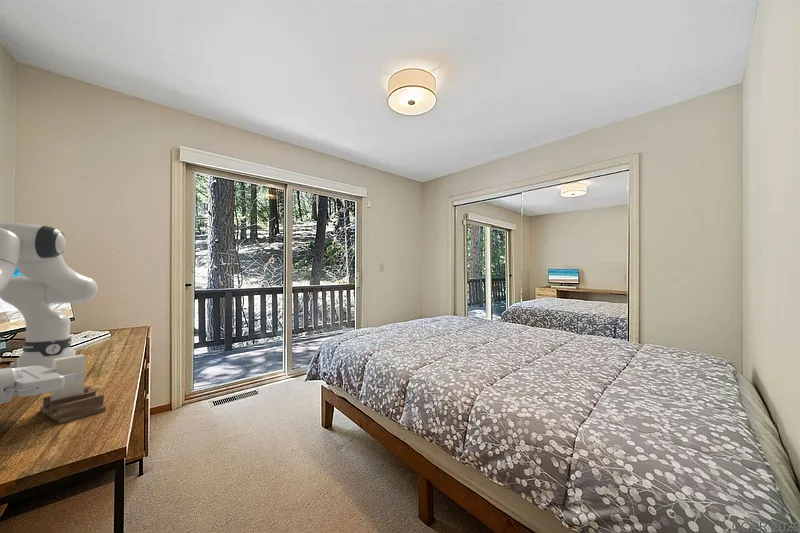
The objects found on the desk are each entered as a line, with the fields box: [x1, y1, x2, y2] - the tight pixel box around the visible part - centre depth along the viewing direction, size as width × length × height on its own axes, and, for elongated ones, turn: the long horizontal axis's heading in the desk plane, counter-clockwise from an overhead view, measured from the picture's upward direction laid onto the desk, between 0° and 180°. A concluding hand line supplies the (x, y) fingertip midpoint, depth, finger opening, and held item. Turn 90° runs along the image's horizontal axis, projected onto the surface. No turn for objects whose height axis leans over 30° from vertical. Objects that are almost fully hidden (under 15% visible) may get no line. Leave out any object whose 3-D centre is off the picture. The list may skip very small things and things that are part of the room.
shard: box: [84, 385, 101, 392], centre depth 97 cm, size 11×8×2 cm
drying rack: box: [39, 387, 107, 425], centre depth 86 cm, size 16×9×4 cm, turn 63°
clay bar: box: [49, 354, 87, 401], centre depth 87 cm, size 3×6×14 cm, turn 153°
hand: (75, 372), depth 89 cm, fingers open, 8 cm apart
